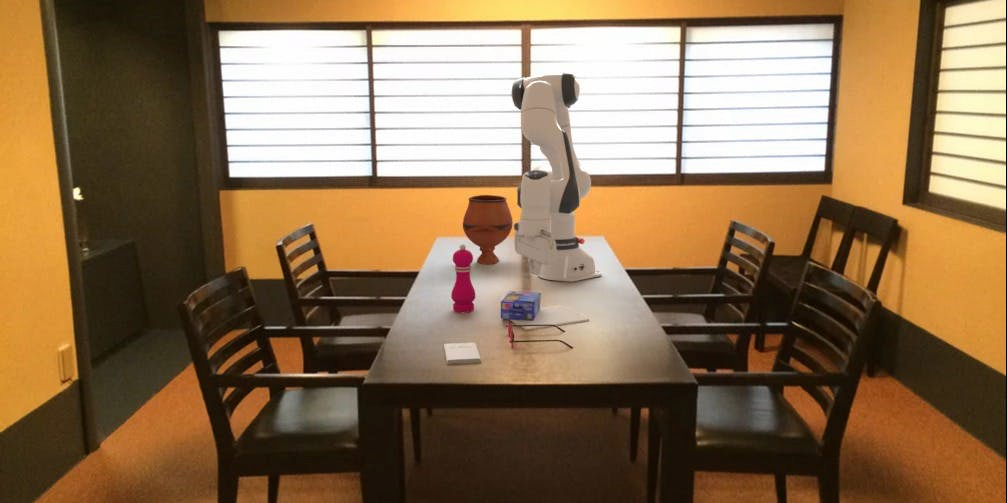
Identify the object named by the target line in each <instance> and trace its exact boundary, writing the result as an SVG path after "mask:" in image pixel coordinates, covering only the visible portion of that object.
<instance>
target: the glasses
mask: <svg viewBox="0 0 1007 503" xmlns="http://www.w3.org/2000/svg"><path fill="white" fill-rule="evenodd" d="M521 326H551V327H554V328H556V329H558V331H559V330H560V332H562V333H566V331H565V330H564V329H563V328H561V327H559V326H555V325H551V324H547V325H517V324H512V321H511V320H509V319H508V323H507V324H505V326H504V327H505V328H507V333H508V338H510V340H508V344H509V343H510V345H511V349H513V348H514V343H535V342H536V343H538V342H539V343H542V342H560V343H562V344H563V345H564V346H566V347H568V348H570V349H574V346H572V345H570V344H569V343H567V342H565V341H563V340H561V339H542V340H539V339H538V340H537V339H534V340H531V339H530V340H515V334H514V333H515V332H514V330H513V328H514V327H517V328H518V327H520V328H522V327H521Z"/></svg>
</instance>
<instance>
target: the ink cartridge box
mask: <svg viewBox="0 0 1007 503" xmlns="http://www.w3.org/2000/svg"><path fill="white" fill-rule="evenodd" d="M541 297H542V294H541V292H534V291H533V292H532V291H520V290H518V291H517V290H510V291H508V293H506V295H505V296H504V297H503V299H502V300H501V301H500V319H501V320H509V319H512V320H513V319H516V320H530V321H534V319H535V317H536V315H537V313H538V312H539V310H540V308H541V301H542V300H541Z"/></svg>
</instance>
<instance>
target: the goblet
mask: <svg viewBox="0 0 1007 503" xmlns="http://www.w3.org/2000/svg"><path fill="white" fill-rule="evenodd" d="M466 208H467V209H466V211H465V212H464V213H465V214H464V216H463V219H462V228H463V232H464V234H465V236H466V237H467V238H468V240H469V241H470V242H471V243H473V244H474V245H475V246H477V247H479V251H480V252H481V254H480V255H479V256H478V258H477V259H476V262H477V263H478V264H481V265H494V264H493V263H496V264H497V262H498V263H499V262H500V259H499V257H498V256H497V255H496V254H495V253H494V251H495V250H496V247H497V246H499V245H500V244H502V243H503V242H504V241H505V240H506V239H507V238H508V236H509V235H510V234H511V231H512V229H513V224H514V223H513V216H512V213H511V209H510V207H509V205H508V201H507V197H505V196H502V195H491V194H481V195H474V196H470V197H469V198H468V206H467V207H466Z"/></svg>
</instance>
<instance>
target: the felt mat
mask: <svg viewBox="0 0 1007 503" xmlns="http://www.w3.org/2000/svg"><path fill="white" fill-rule="evenodd" d="M509 320H510V321H511V322H513V323H514V324H515V325H547V324H551V325H555V326H557V327H559V326H562V325H570V324H577V323H584V322H589V321H590V318H588V317H586V316H584V315H582V314H580V313H578V312H576V311H574V310H572V309H570V308H568V307H566V306H564V305H563V304H560V305H553V306H545V307H540V310H539V312H538V313H537V315H536V317H535V319H534V321H530V320H516V319H513V320H512V319H508V321H509ZM551 327H552V326H521V327H520V328H522V329H524V330H526V331H531V330H537V329H543V328H544V329H545V328H551Z"/></svg>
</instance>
